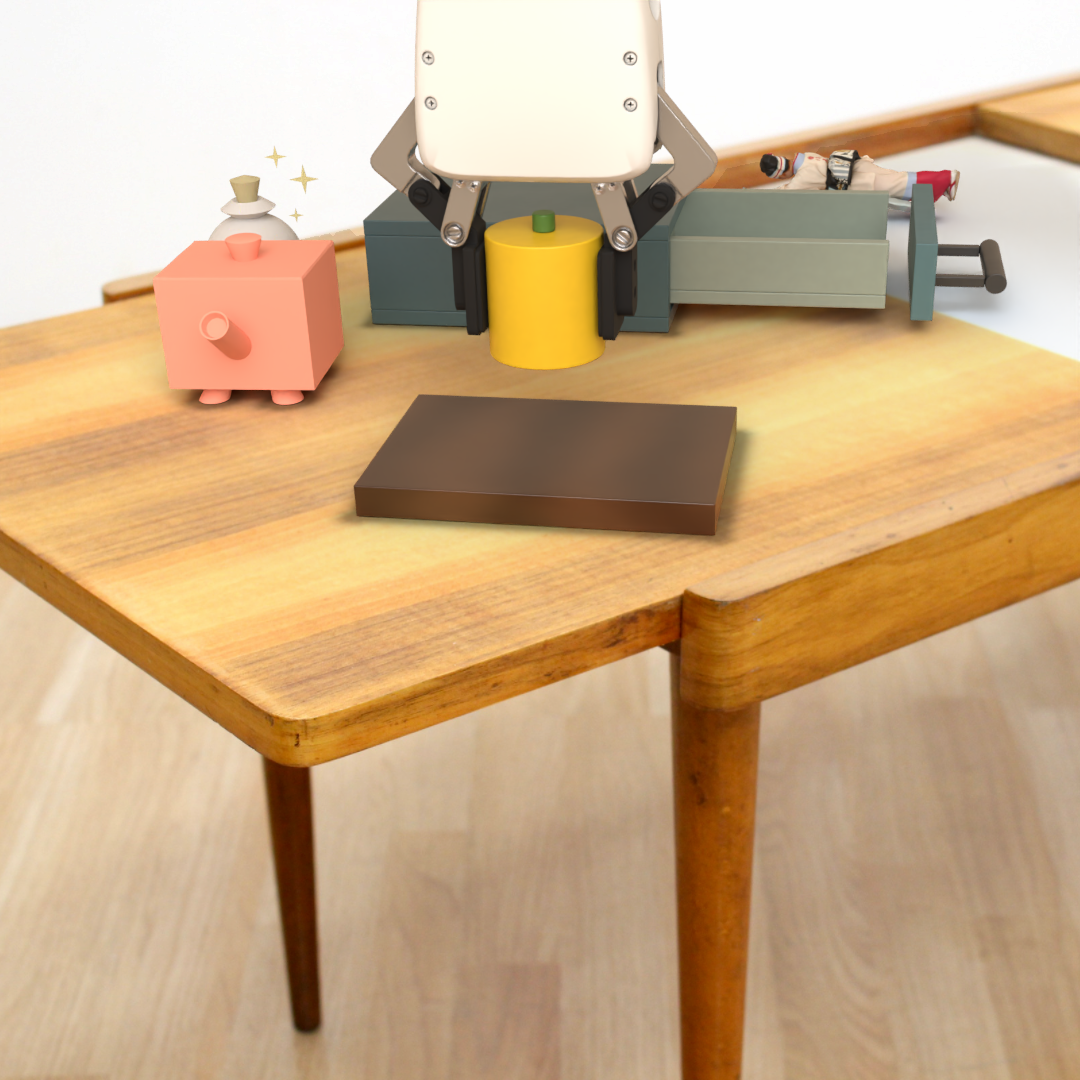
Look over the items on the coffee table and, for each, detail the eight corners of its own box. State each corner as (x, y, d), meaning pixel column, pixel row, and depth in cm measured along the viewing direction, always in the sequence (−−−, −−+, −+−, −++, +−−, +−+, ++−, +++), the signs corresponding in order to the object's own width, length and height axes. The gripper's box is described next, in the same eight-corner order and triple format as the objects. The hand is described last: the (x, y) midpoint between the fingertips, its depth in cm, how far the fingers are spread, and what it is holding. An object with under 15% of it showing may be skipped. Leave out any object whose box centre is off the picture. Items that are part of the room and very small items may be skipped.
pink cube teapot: (151, 431, 79) (125, 274, 75) (222, 349, 90) (202, 208, 86) (300, 433, 78) (281, 274, 74) (354, 350, 89) (340, 207, 85)
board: (736, 434, 76) (737, 406, 75) (714, 536, 66) (715, 504, 66) (420, 421, 79) (418, 393, 78) (356, 516, 69) (353, 485, 69)
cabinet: (695, 259, 102) (696, 163, 99) (668, 332, 89) (668, 225, 86) (433, 254, 105) (426, 161, 102) (372, 324, 93) (362, 220, 90)
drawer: (994, 254, 97) (1000, 184, 95) (1008, 323, 86) (1016, 245, 84) (665, 247, 101) (665, 180, 99) (637, 312, 90) (636, 238, 88)
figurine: (941, 204, 114) (738, 180, 115) (964, 149, 106) (745, 124, 107) (933, 280, 113) (727, 255, 114) (955, 231, 105) (734, 204, 106)
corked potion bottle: (222, 295, 99) (201, 136, 94) (338, 292, 98) (323, 133, 94) (201, 326, 93) (177, 160, 89) (324, 323, 93) (306, 156, 88)
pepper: (613, 332, 72) (612, 197, 69) (595, 373, 67) (592, 230, 64) (503, 329, 73) (497, 195, 70) (478, 368, 68) (470, 227, 65)
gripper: (758, -123, 63) (745, 307, 71) (353, -115, 66) (386, 295, 74) (743, -107, 56) (731, 365, 64) (295, -99, 59) (338, 349, 68)
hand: (546, 323), depth 69 cm, fingers closed on pepper, 5 cm apart
